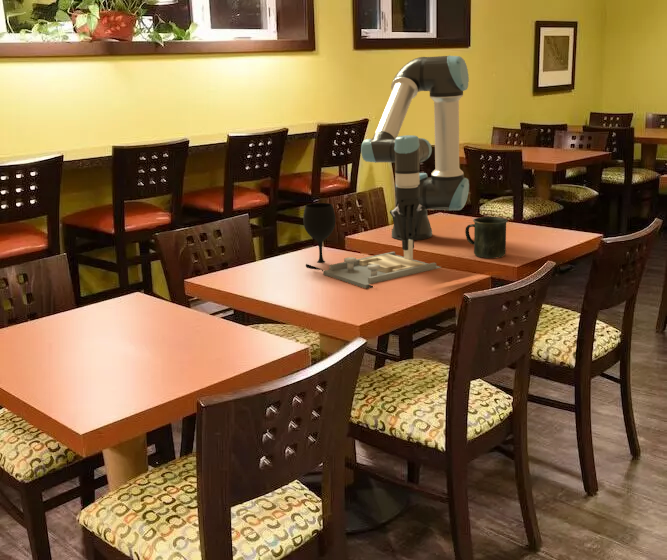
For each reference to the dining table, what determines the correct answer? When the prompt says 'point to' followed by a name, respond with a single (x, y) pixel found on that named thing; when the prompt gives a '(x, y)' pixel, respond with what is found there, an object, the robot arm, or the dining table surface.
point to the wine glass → (319, 224)
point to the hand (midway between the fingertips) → (408, 259)
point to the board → (370, 271)
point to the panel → (390, 263)
